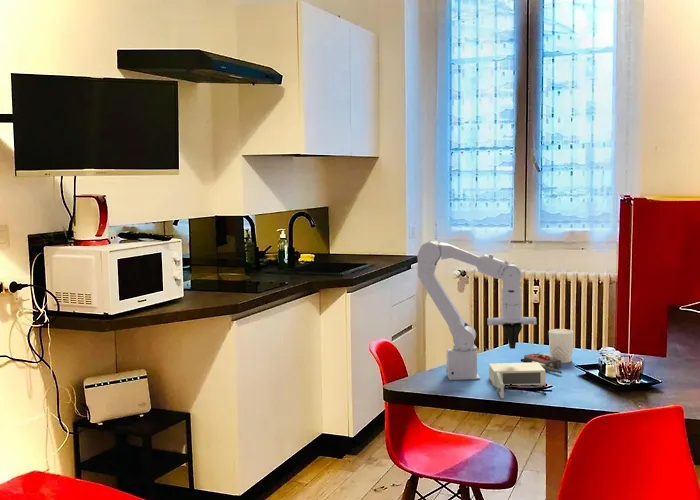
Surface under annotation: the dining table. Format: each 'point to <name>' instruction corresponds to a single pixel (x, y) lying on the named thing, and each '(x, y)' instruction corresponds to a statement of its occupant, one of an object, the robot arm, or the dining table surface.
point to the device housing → (518, 373)
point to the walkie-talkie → (544, 361)
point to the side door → (500, 385)
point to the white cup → (561, 344)
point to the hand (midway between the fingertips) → (512, 348)
